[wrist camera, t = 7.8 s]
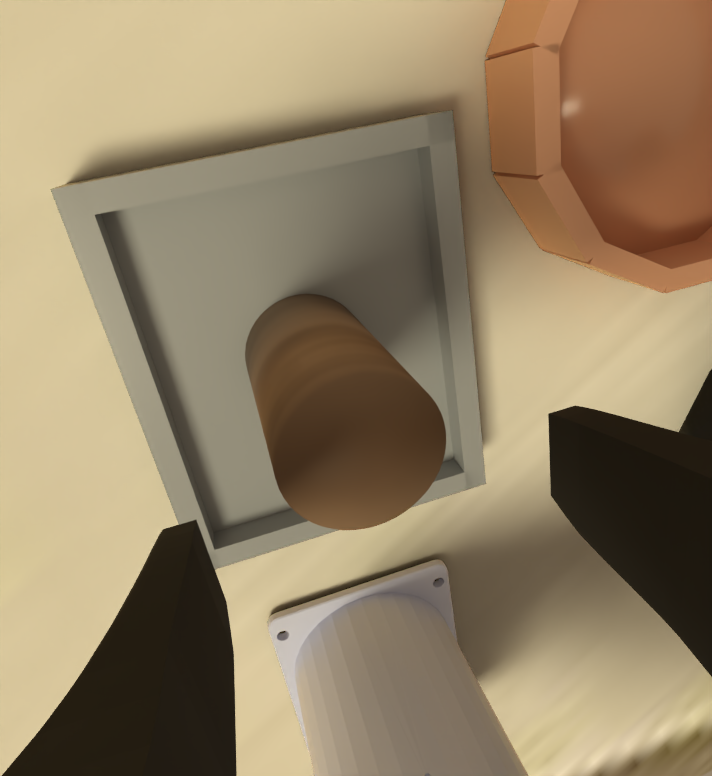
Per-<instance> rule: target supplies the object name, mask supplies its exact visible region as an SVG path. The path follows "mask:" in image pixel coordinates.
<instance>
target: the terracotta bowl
mask: <svg viewBox="0 0 712 776" xmlns="http://www.w3.org/2000/svg"><path fill="white" fill-rule="evenodd" d="M486 57H488V58H490V60H486V61H485V70H486V85H487V101H488V116H489V131H490V147H491V162H492V172H496V173H495V174H494V175H493V176H494V177H495V179H496V180H497V182H498V184H499V185H500V187H501V188H502V190H503V191H504V193H505V195H506V196H507V198H508V199H509V201H510V202H511V204H512V205H513V207H514V209H515V210H516V212H517V213H518V215H519V216H520V218H521V220H522V221H523V223H524V224H525V226H526V227H527V229H528V231H529V232H530V234H531V235H532V237H533V238H534V240H535V241H536V243H537V245H538V246H539V248H541V249H542V250H543V251H546V252H548V253H551V254H554V255H556V256H559V257H561V258H564V259H567V260H569V261H572V262H575V263H577V264H580V265H582V266H585V267H588V268H590V269H593V270H595V271H598V272H601V273H603V274H606V275H609V276H611V277H615V278H618V279H621V280H624V281H627V282H630V283H633V284H637V285H640V286H643V287H646V288H649V289H652V290H655V291H659V292H662V293H663V292H665V293H668V292H672V291H675V290H679V289H683V288H686V287H690V286H694V285H697V284H701V283H705V282H708V281H712V0H506V2H505V5H504V7H503V10H502V13H501V16H500V18H499V21H498V24H497V26H496V29H495V32H494V35H493V37H492V40H491V43H490V45H489V48H488V51H487V53H486Z"/></svg>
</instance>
